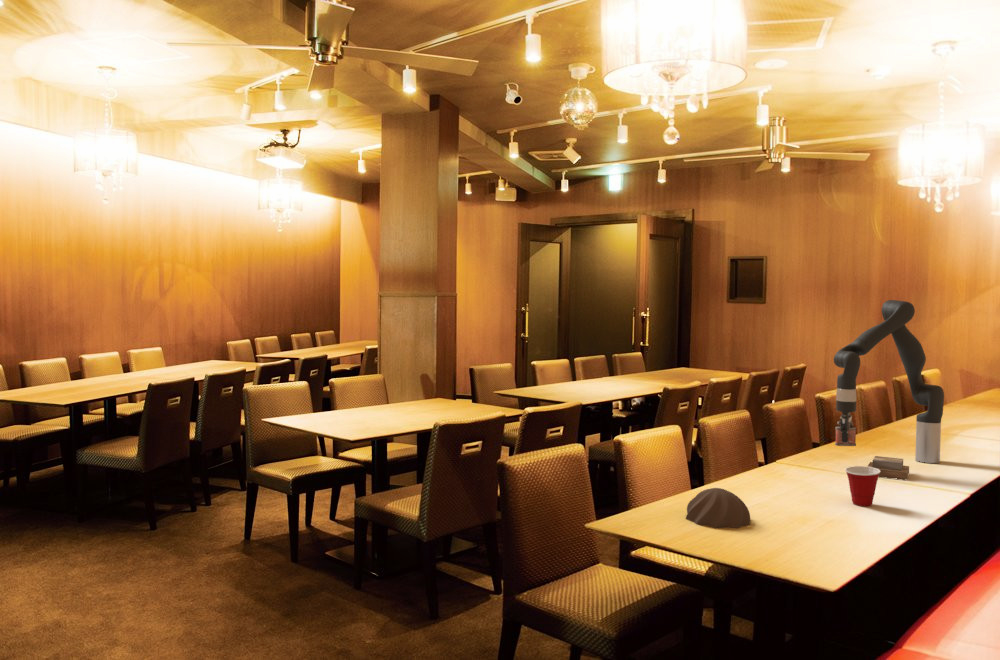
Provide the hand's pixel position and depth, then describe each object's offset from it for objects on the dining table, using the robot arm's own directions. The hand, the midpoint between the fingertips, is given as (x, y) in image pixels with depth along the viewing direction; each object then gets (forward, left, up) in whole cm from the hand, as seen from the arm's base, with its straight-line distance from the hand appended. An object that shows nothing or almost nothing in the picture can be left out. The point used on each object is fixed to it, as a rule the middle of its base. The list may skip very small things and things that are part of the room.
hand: (845, 440), depth 306 cm
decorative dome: (+104, -22, -12) cm, 107 cm away
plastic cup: (+59, +13, -11) cm, 62 cm away
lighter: (0, 0, -2) cm, 2 cm away
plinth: (+3, +16, -11) cm, 20 cm away
